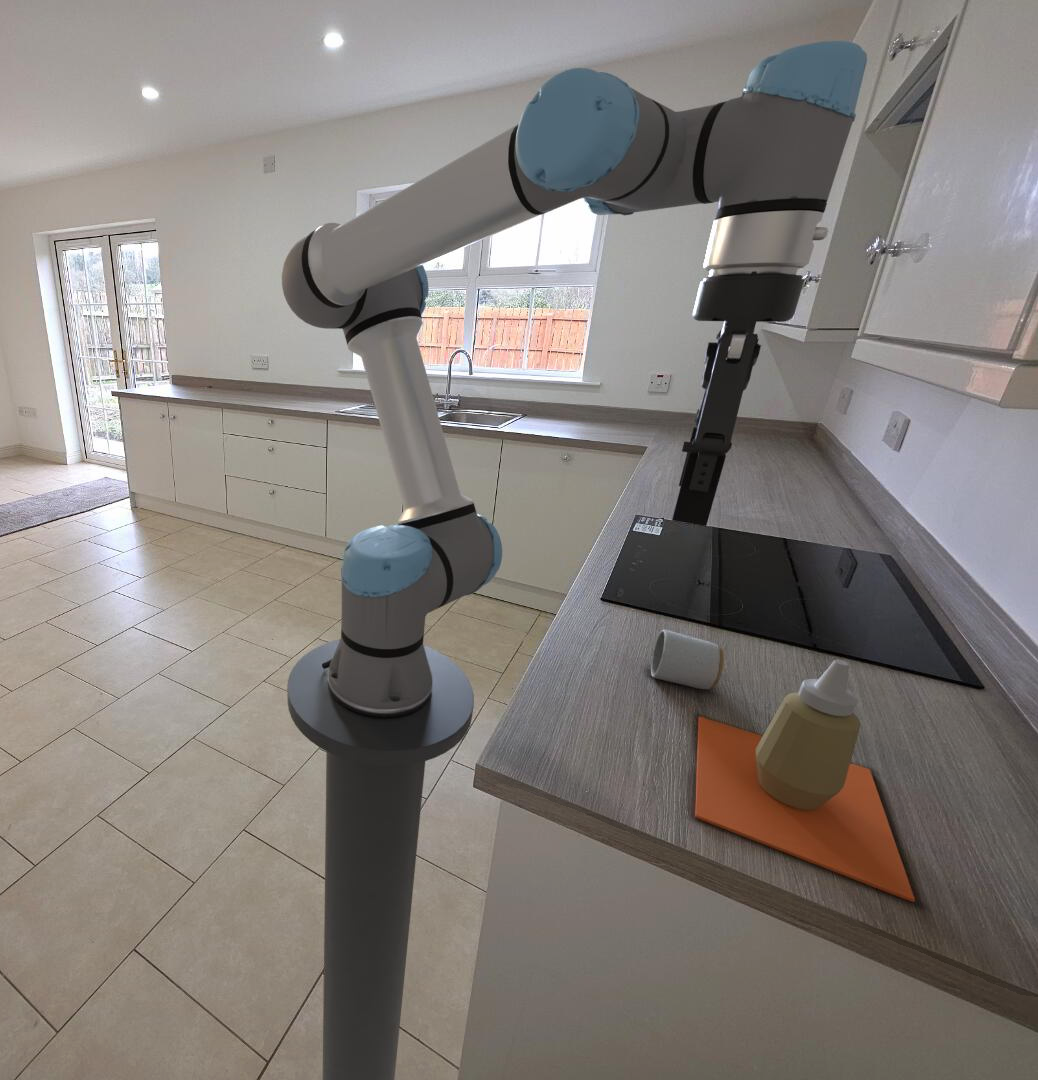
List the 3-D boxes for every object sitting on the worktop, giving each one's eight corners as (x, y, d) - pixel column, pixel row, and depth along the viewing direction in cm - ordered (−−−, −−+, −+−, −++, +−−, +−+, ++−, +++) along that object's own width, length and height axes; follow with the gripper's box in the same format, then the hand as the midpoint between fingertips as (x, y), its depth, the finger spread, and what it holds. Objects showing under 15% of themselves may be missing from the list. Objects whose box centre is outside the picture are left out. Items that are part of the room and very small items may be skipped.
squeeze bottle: (835, 791, 66) (895, 662, 60) (828, 832, 61) (892, 696, 54) (753, 755, 72) (798, 634, 65) (739, 791, 66) (788, 662, 60)
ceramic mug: (716, 701, 82) (730, 656, 79) (652, 687, 85) (664, 643, 83) (704, 664, 91) (717, 623, 88) (647, 652, 94) (657, 612, 92)
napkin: (694, 817, 63) (695, 815, 63) (698, 718, 79) (699, 716, 79) (913, 902, 54) (915, 900, 54) (868, 771, 70) (870, 769, 70)
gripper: (831, 261, 38) (740, 551, 46) (790, 279, 57) (732, 480, 65) (699, 265, 42) (637, 532, 50) (703, 281, 61) (658, 471, 69)
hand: (691, 503), depth 57 cm, fingers open, 13 cm apart
